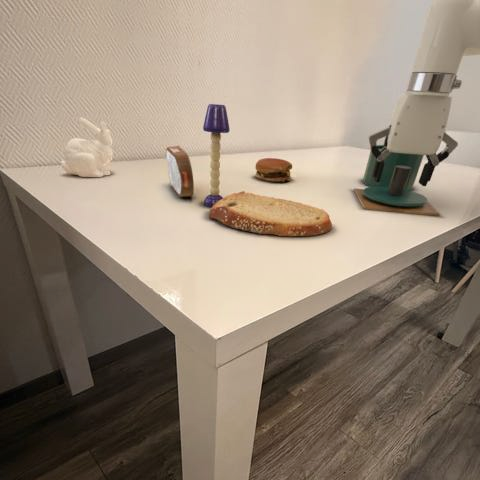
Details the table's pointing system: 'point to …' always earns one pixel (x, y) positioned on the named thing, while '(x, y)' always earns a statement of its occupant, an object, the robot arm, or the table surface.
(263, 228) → the bread slice
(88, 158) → the rabbit
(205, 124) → the toy lamp
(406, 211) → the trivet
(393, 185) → the tin lid
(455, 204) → the table surface
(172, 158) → the tin
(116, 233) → the table surface
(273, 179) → the burger
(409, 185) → the enamel tin
